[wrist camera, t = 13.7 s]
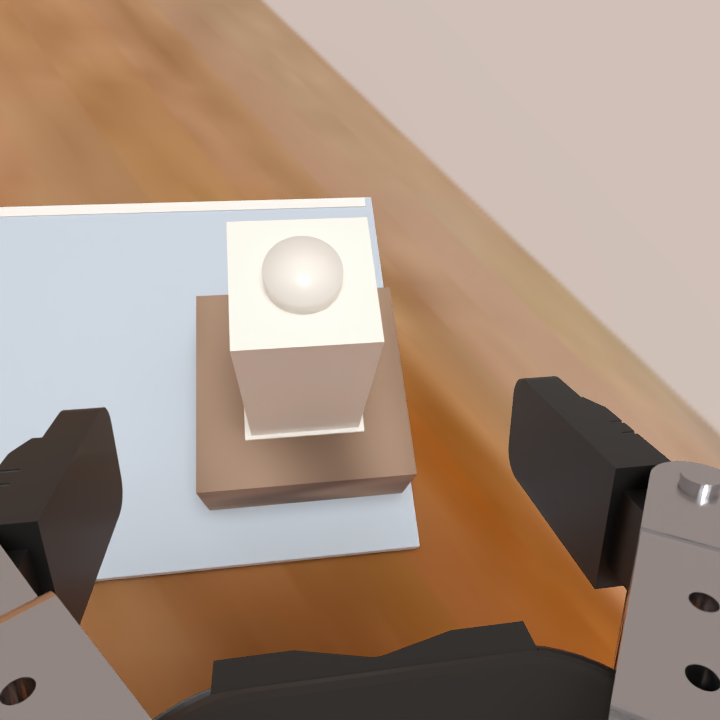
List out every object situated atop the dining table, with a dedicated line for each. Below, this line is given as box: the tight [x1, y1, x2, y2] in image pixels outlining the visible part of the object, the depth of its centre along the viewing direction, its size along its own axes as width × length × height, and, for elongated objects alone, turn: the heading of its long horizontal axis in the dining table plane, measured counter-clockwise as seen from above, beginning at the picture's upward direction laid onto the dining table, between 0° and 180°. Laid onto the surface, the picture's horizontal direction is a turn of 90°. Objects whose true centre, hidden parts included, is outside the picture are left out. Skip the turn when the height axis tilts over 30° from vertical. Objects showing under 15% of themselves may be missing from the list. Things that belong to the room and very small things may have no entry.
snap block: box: [226, 217, 384, 436], centre depth 22 cm, size 4×4×9 cm
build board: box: [0, 197, 420, 582], centre depth 29 cm, size 22×20×5 cm
